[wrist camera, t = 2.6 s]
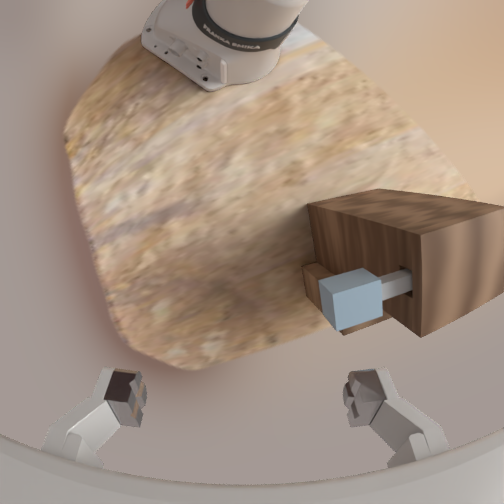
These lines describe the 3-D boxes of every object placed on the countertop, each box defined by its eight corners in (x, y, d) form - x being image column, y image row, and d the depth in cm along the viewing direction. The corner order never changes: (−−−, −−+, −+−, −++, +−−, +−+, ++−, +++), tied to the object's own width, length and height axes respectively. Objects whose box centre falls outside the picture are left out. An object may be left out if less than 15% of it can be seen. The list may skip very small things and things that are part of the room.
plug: (322, 314, 29) (336, 331, 25) (318, 280, 28) (332, 294, 24) (470, 262, 30) (490, 271, 27) (470, 233, 29) (491, 240, 26)
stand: (306, 296, 54) (395, 391, 27) (291, 207, 50) (395, 242, 23) (387, 270, 56) (497, 331, 29) (378, 188, 52) (507, 207, 25)
